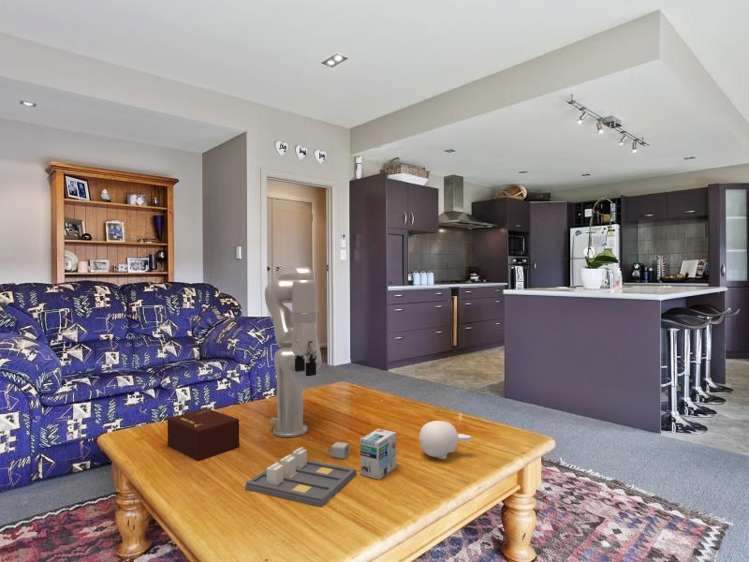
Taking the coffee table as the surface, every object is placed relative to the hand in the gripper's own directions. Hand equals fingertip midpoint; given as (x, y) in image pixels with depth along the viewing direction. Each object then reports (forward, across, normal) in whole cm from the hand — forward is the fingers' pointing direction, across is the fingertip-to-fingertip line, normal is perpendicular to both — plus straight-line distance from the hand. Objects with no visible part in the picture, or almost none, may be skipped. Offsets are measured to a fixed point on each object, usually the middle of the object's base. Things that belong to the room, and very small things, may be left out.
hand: (305, 373), depth 141 cm
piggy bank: (+28, +18, +41) cm, 53 cm away
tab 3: (+26, +5, -4) cm, 27 cm away
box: (+27, -31, -25) cm, 48 cm away
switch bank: (+28, +12, -6) cm, 31 cm away
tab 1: (+27, +12, -14) cm, 32 cm away
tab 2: (+27, +8, -9) cm, 29 cm away
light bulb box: (+28, +17, +16) cm, 37 cm away
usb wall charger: (+28, 0, +10) cm, 30 cm away
